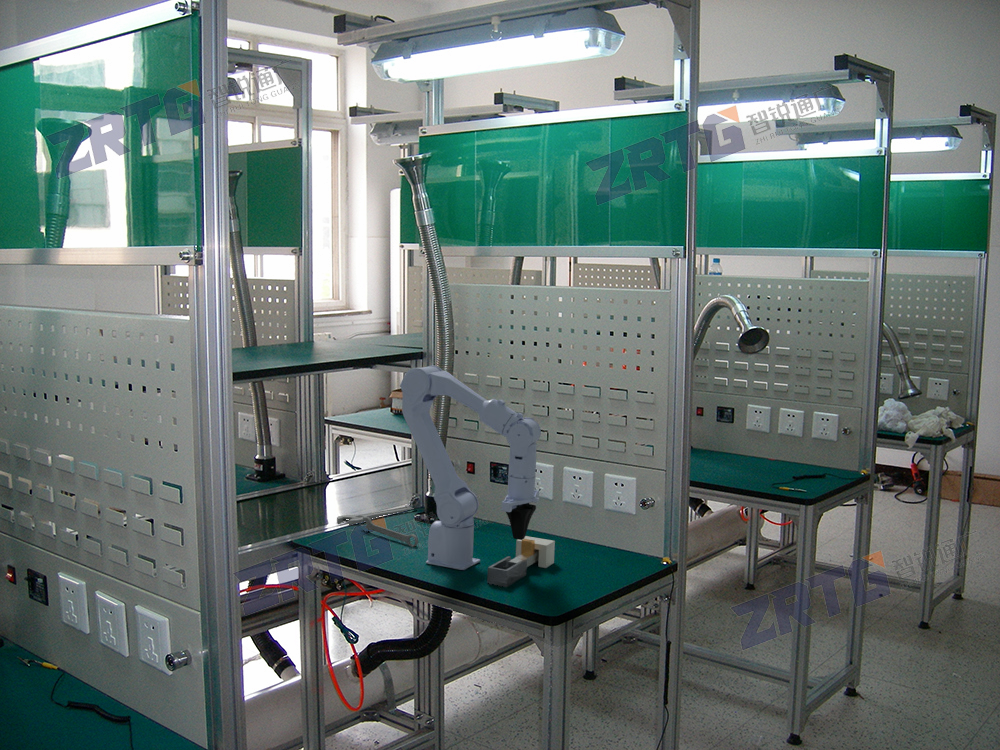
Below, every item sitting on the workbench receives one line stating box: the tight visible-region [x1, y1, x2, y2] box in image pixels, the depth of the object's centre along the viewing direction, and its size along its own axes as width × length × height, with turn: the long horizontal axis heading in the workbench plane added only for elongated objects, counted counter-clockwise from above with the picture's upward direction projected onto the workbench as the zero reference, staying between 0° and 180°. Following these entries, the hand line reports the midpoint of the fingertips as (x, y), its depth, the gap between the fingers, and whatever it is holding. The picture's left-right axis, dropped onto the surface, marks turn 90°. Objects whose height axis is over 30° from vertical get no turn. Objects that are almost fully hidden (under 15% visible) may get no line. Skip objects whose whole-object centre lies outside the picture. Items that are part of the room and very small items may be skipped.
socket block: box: [515, 535, 556, 569], centre depth 203 cm, size 7×4×5 cm, turn 64°
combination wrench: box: [360, 517, 419, 547], centre depth 219 cm, size 4×1×20 cm
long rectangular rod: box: [508, 539, 539, 568], centre depth 198 cm, size 2×12×5 cm, turn 153°
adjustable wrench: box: [336, 505, 414, 526], centre depth 239 cm, size 25×6×2 cm, turn 132°
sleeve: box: [486, 555, 528, 588], centre depth 191 cm, size 4×10×3 cm, turn 154°
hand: (518, 538), depth 195 cm, fingers closed
